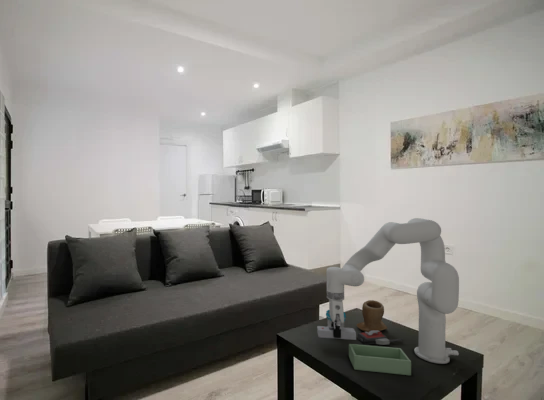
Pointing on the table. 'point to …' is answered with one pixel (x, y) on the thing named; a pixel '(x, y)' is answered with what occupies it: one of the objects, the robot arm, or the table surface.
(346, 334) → the remote
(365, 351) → the tray
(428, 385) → the table surface
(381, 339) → the walkie-talkie
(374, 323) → the brown flared hollow piece
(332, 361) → the table surface
